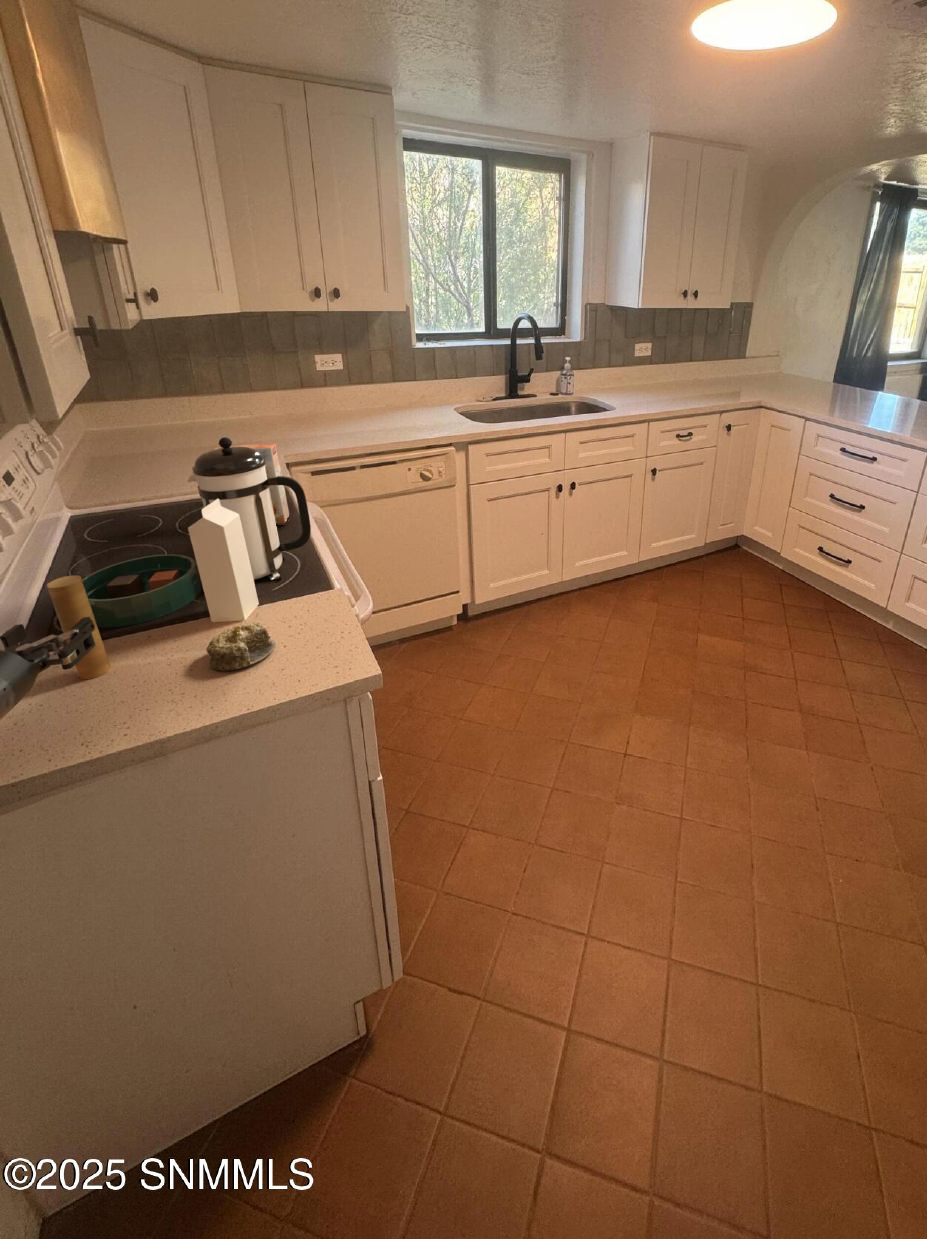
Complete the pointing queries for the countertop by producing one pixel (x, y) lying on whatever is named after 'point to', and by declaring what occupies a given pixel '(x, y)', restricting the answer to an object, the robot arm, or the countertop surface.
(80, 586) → the tan cylinder
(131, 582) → the walnut block
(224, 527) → the milk
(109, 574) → the bowl
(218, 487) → the coffee press
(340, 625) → the countertop surface
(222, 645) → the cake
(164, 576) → the terracotta block
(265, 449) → the cracker box
